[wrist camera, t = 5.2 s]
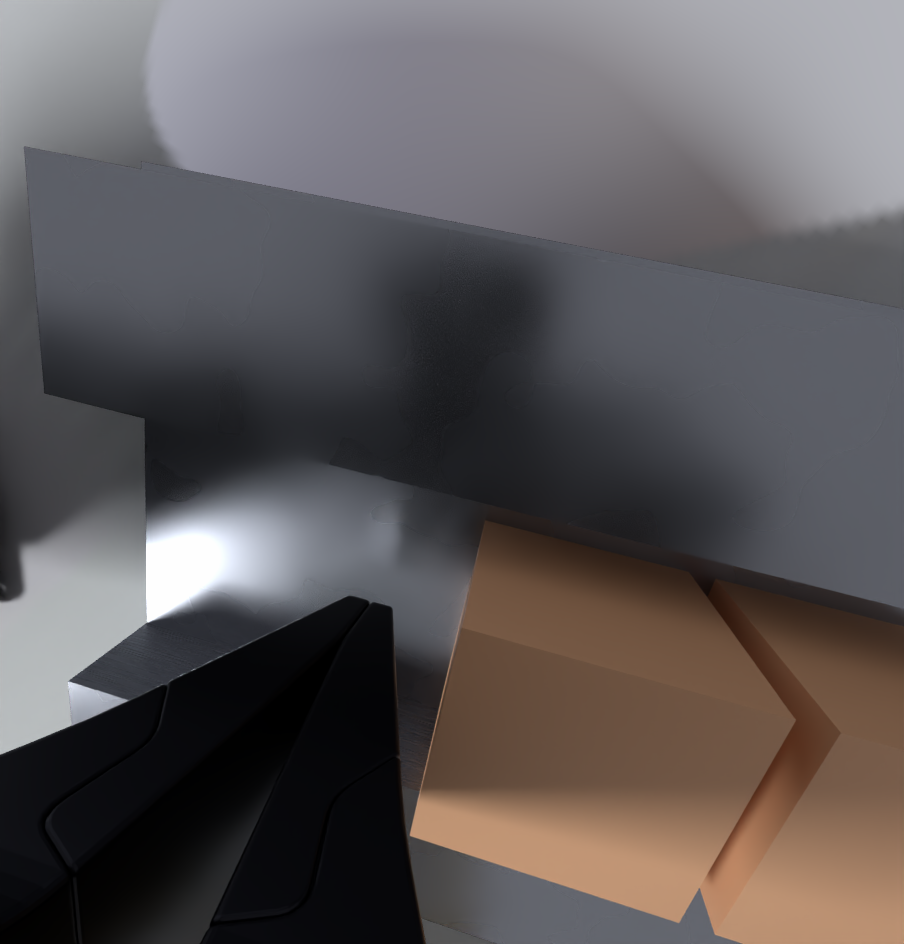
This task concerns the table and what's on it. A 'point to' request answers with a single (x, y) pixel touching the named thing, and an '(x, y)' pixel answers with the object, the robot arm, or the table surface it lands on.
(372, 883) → the robot arm
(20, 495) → the table surface
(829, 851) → the tan cube
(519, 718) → the chip
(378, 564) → the slot board
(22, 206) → the table surface
